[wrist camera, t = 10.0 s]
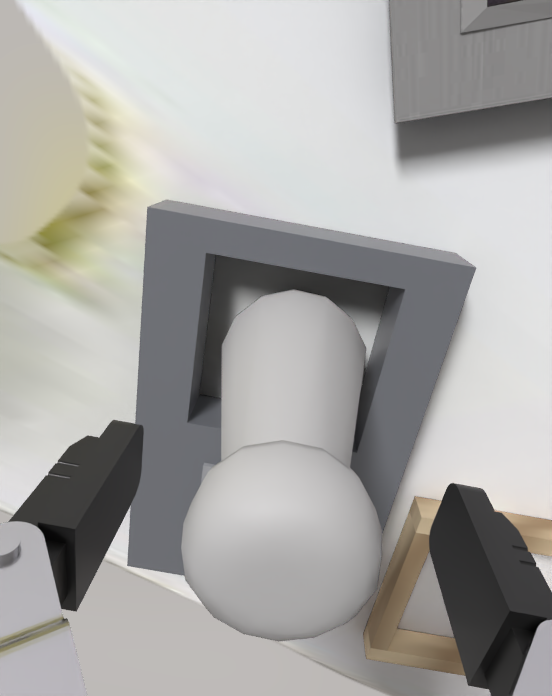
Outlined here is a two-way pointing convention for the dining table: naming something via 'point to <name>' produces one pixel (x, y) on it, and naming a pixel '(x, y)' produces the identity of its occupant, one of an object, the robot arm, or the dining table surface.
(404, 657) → the wooden square frame
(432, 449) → the dining table surface
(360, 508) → the salt shaker
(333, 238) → the grey rectangular frame
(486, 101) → the electrical outlet
